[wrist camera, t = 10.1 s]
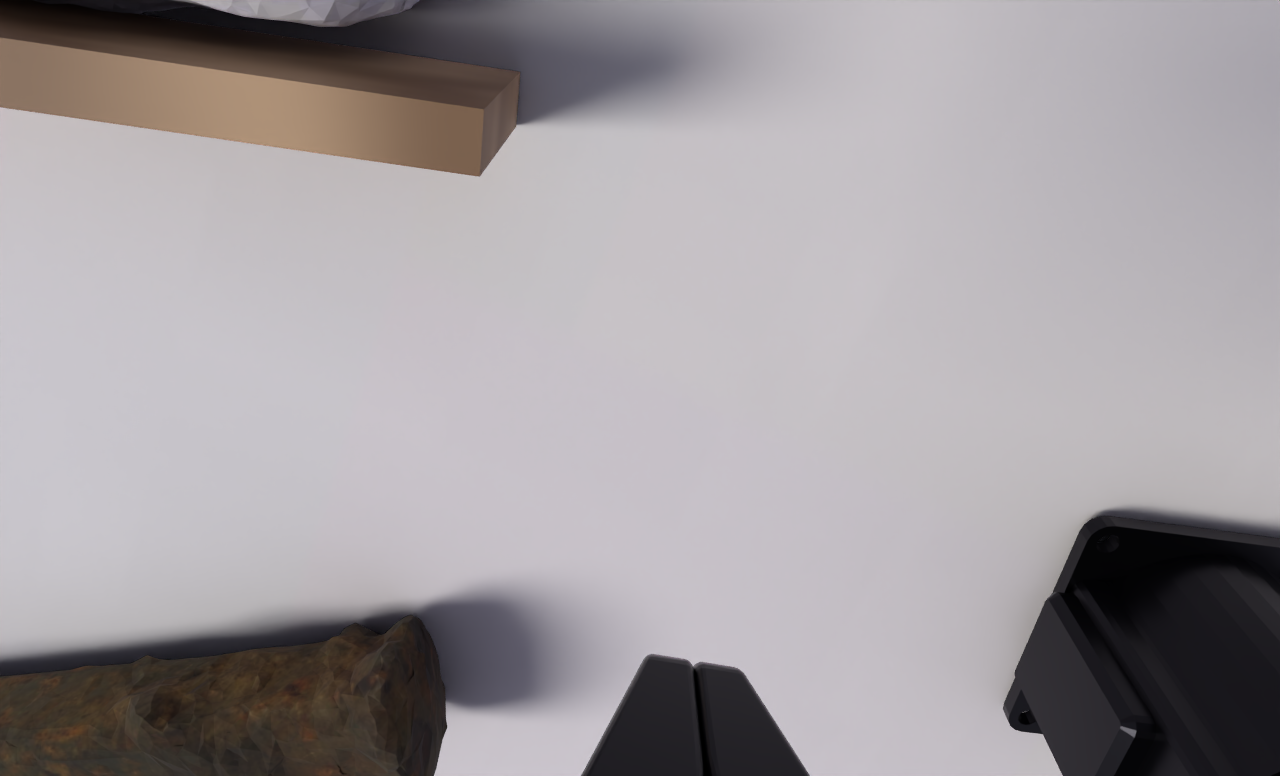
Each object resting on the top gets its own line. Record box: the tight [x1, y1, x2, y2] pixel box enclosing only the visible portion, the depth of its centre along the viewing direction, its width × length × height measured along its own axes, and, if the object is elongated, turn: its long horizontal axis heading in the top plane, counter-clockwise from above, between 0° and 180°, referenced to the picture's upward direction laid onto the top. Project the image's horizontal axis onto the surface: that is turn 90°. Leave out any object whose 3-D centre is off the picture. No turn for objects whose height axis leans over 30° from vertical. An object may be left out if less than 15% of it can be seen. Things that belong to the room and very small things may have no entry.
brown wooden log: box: [0, 615, 447, 776], centre depth 22 cm, size 19×4×5 cm, turn 95°
